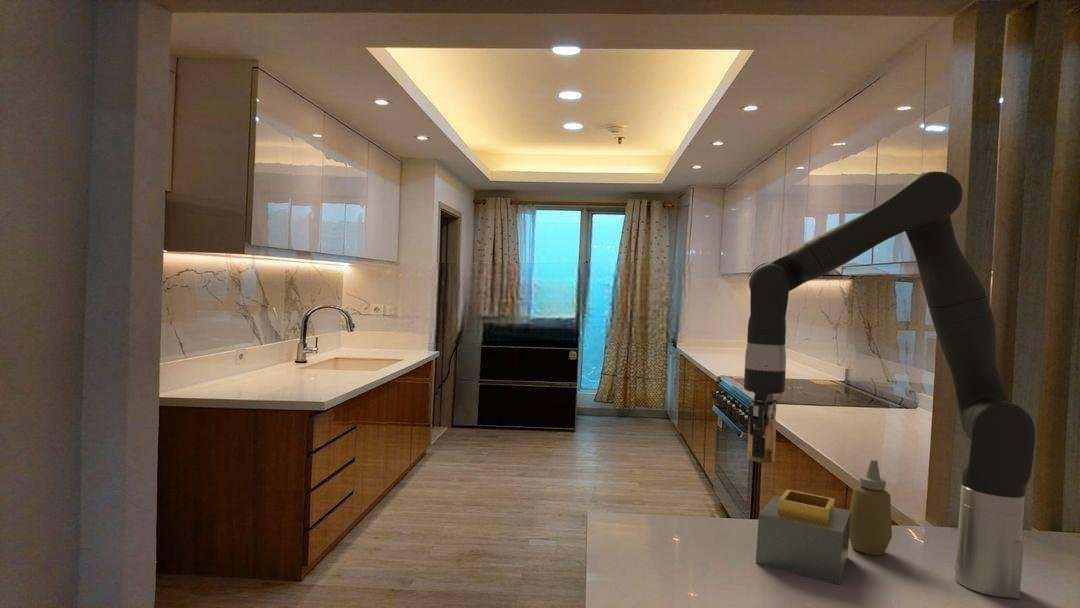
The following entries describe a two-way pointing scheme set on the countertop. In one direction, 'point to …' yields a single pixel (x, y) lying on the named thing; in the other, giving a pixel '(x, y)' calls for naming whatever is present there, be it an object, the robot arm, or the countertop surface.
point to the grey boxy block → (804, 536)
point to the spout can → (769, 444)
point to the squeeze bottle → (870, 514)
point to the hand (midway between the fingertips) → (761, 454)
